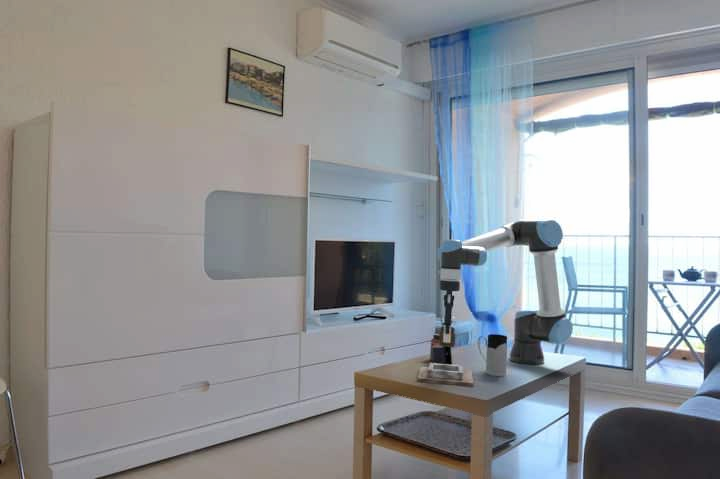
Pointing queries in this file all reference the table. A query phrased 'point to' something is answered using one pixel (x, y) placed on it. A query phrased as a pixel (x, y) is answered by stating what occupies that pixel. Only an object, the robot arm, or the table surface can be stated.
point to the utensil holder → (452, 341)
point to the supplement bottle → (433, 342)
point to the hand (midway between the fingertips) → (446, 340)
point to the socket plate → (445, 374)
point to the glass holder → (495, 354)
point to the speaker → (441, 354)
